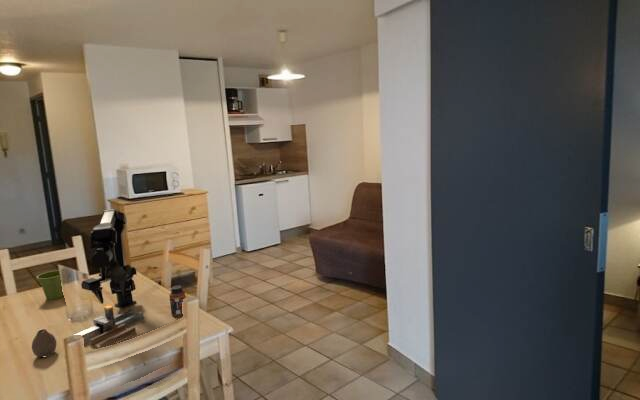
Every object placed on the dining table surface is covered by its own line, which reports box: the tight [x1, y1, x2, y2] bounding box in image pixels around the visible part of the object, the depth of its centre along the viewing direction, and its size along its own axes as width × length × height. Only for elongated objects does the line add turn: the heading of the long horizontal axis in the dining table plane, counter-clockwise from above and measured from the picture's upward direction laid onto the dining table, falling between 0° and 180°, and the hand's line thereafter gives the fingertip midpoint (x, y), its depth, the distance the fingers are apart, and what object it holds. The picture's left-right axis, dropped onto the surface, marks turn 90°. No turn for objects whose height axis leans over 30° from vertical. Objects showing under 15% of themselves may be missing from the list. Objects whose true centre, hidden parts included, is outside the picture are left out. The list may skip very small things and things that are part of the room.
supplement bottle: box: [169, 285, 186, 317], centre depth 164 cm, size 6×6×11 cm
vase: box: [31, 328, 57, 358], centre depth 138 cm, size 7×7×9 cm
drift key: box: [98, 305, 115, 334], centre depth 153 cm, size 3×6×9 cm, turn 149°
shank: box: [74, 325, 101, 344], centre depth 147 cm, size 3×9×4 cm, turn 148°
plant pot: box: [36, 269, 64, 300], centre depth 190 cm, size 12×12×11 cm
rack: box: [89, 324, 137, 349], centre depth 147 cm, size 7×13×2 cm, turn 149°
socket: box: [92, 308, 145, 333], centre depth 158 cm, size 8×16×5 cm, turn 149°
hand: (113, 299), depth 156 cm, fingers open, 8 cm apart
